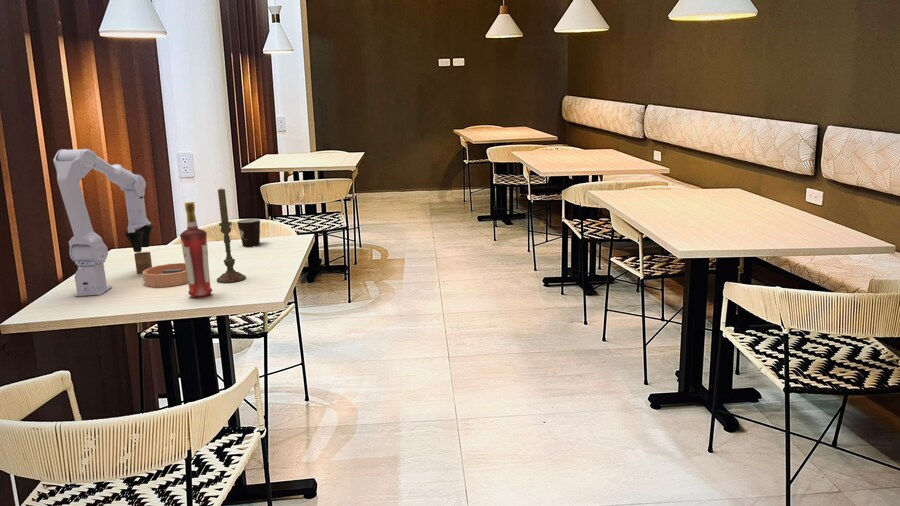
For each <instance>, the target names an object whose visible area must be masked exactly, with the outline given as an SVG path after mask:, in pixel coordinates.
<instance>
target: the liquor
mask: <svg viewBox="0 0 900 506" xmlns="http://www.w3.org/2000/svg"><path fill="white" fill-rule="evenodd" d="M184 209H185V211H186V212H185V213H186V230H183V231H182V232H181V233H180V234H179V236H180V237H179V238H180V242H181V243H180V245H181V248H182V254H183V260H184V263H185V265H186V271H187V277H188V283H187V284H188V289H189V290H188V293H187V294H188V295H189V296H191V298H193V299H201V298H205V297H209V295H210V294H211V293H212V292H213V289H212V288H211V280H210V267H209V252H208V251H209V249H208V240H207V239H208V236H207V232H206V231H205V230H203V229H201V228H199V227H198V226H199V225H198V221H197V217H196V214H195V212H196V206H195V202H194V201H188V202H185V203H184Z"/></svg>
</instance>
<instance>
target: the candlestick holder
mask: <svg viewBox="0 0 900 506" xmlns="http://www.w3.org/2000/svg"><path fill="white" fill-rule="evenodd" d="M217 195H218V204H219V205H218V206H219V214H220V221H221V222H219V223H218V226H219V227H220V232H221V233H222V234H223V243H224V247H225V252H226V257H225V258H224V260H223V263H224V266H225V267H226V271H225V272H224V273H222V274H221V275H220V276H219V277H217V278H216V281H217V283H220V284H231V283H232V284H233V283H239V282H242V281H244V280H246V279H247V277H246V274H243V273H241V272H239V271H236V270H235V269H234V265H235V263H236V259H235V258H233V256H232V255H231V251H232V250H231V249H232V248H231V237H230V235H229V234H230V233H231V232H232V228H231V225H232V222H231V221H229V215H228V206H227V198H226V197H227V196H226V189H225V188H222V187H220V189H219V188H218V189H217Z"/></svg>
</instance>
